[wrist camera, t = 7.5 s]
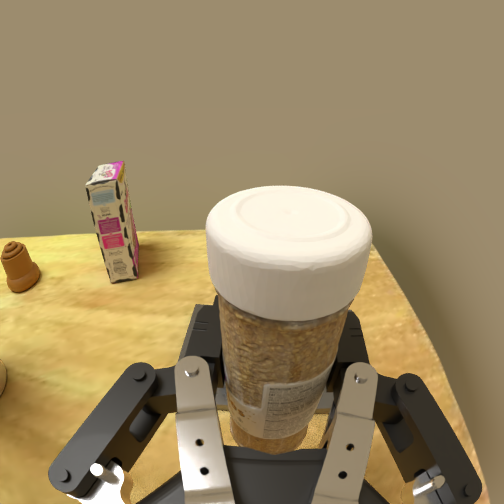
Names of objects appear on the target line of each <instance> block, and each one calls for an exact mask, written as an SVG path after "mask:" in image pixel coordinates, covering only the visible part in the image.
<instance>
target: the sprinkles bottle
mask: <svg viewBox="0 0 504 504" xmlns="http://www.w3.org/2000/svg"><path fill="white" fill-rule="evenodd" d="M206 241H207V255H208V265H209V273H210V277H211V280H212V283H213V285H214V286H215V290H216V292H217V294H218V300H219V310H220V321H221V324H220V325H221V334H222V356H223V365H224V376H225V385H226V392H227V401H228V408H229V412H230V416H231V417H230V430H231V434H232V436H233V439H234V440H235V442H236V443H237V444H238V445H239V446H240V447H248V448H251V449H255V450H258V451H262V452H265V453H269V454H273V455H276V454H281V453H286V452H291V451H294V450H295V449H296V448H297V447H298V446H299V445H300V444H301V443H302V441H303V439H304V438H305V436H306V433H307V428H308V423H309V422H310V420H311V419H312V417H313V415H314V413H315V410H316V408H317V405H318V403H319V401H320V398H321V396H322V393H323V391H324V388H325V385H326V383H327V380H328V377H329V374H330V372H331V369H332V366H333V363H334V360H335V358H336V354H337V351H338V343H339V340H340V336H341V334H342V331H343V327H344V324H345V320H346V317H347V313H348V308H349V307H350V305H351V303H352V302H353V300H354V298H355V296H356V295H357V293H358V292H359V290H360V287H361V284H362V281H363V278H364V274H365V271H366V267H367V263H368V258H369V253H370V248H371V243H372V229H371V226H370V223H369V221H368V220H367V218H366V216H365V215H364V214H363V213H362V212H361V211H360V210H359V209H358V208H356V207H355V206H354V205H352V204H351V203H349V202H347V201H346V200H344V199H342V198H340V197H337V196H335V195H332V194H329V193H326V192H323V191H319V190H315V189H310V188H304V187H295V186H265V187H258V188H252V189H248V190H244V191H240V192H237V193H235V194H232V195H230V196H228V197H226V198H225V199H223V200H221V201H220V202H219V203H218V204H216V205H215V206H214V208H213V209H212V210H211V212H210V213H209V215H208V218H207V222H206Z"/></svg>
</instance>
